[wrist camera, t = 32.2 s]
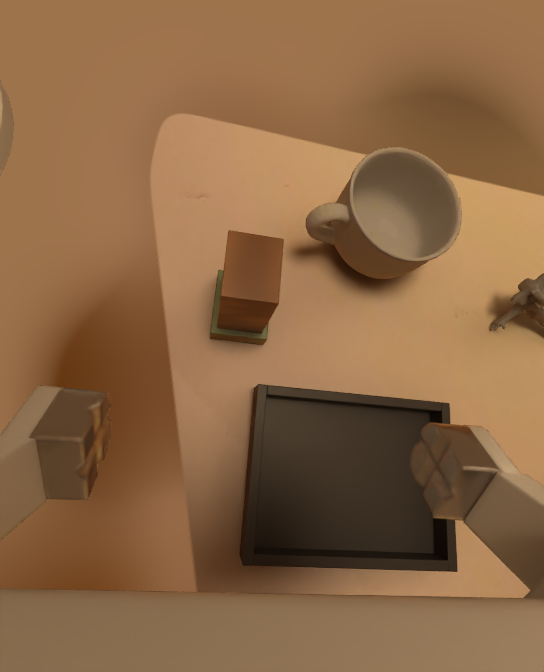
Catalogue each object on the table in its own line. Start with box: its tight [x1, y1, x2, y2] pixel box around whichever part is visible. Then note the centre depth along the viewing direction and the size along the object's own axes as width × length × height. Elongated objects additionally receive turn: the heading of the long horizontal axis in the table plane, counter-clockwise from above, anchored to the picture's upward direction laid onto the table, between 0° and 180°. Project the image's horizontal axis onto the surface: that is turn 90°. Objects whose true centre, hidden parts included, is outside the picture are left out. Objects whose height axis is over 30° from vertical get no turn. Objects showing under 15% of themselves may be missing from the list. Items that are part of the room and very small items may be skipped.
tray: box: [240, 384, 457, 572], centre depth 33 cm, size 18×14×3 cm
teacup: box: [306, 147, 462, 279], centre depth 36 cm, size 14×11×8 cm
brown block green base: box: [210, 230, 284, 344], centre depth 31 cm, size 5×6×10 cm
